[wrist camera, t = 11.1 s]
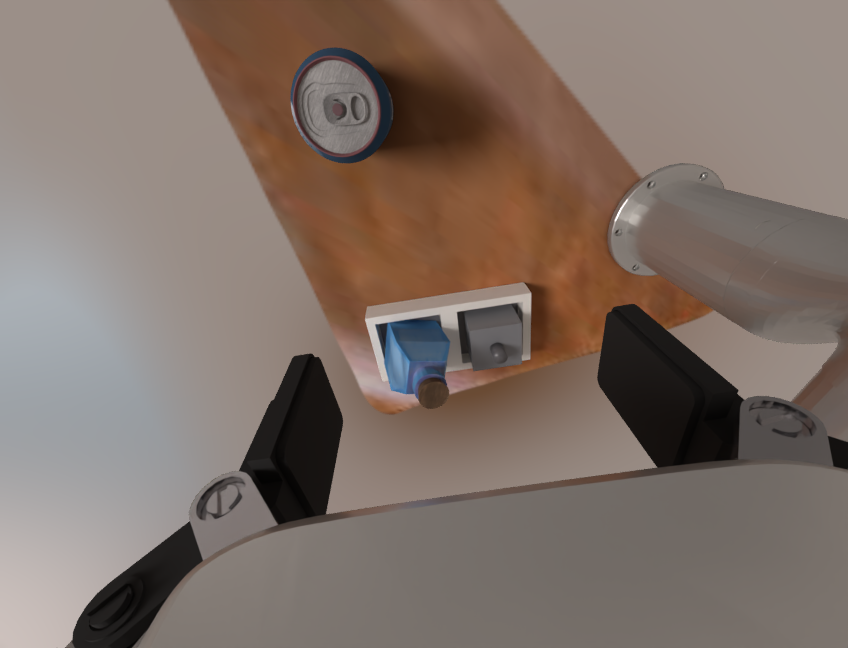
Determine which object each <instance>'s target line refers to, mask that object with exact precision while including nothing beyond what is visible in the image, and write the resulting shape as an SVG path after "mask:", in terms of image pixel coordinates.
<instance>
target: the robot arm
mask: <svg viewBox="0 0 848 648" xmlns="http://www.w3.org/2000/svg"><path fill="white" fill-rule="evenodd" d="M608 246H609V251H610V253H611V255H612V257H613V259H614V260H615V261H616V262H617V264H618V265H619V266H621V267H622V268H624V269H625V270H626V271H628V272H630V273H633V274H637V275H641V276H653V275H660V276H662V277H664V278H665V279H667V280H668V281H670V282H671V283H673V284H674V285H676V286H678V287H679V288H681V289H682V290H684V291H685V292H687V293H688V294H690V295H692V296H693V297H695V298H696V299H698V300H699V301H701V302H703V303H704V304H706V305H707V306H709V307H710V308H712V309H713V310H715V311H717V312H718V313H720V314H721V315H723V316H724V317H726V318H727V319H729V320H731V321H732V322H734V323H736V324H737V325H739V326H740V327H742V328H744V329H745V330H747V331H749V332H750V333H753V334H754V335H757V336H759V337H762V338H765V339H768V340H772V341H776V342H783V343H793V344H818V343H820V344H821V343H834V342H838V346H837V348H836V350H835V351H834V352H833V354H832V355H831V356H830V357H829V358H828V360H827V361H826V362H825V363H824V364H823V366H822V368H821V369H820V370H819V372H818V373H817V374H816V375H815V376H814V377H813V378H812V379H811V380H810V381H809V382H808V384H806V386H805V387H804V388H803V389H802V390H801V391H800V392H799V393H798V394H797V395H796V396H795V397H794V399H793V400H792V401H791V402H789V401H786V400H783V399H780V398H775V397H769V396H755V397H750V398H747V399H746V400H744V399H743V398H741V397H740V396H739V395H738V394H737V392H738V389H736V388H735V387H734V386H733V385H732V384H730V383H729V382H728V381H727V380H726V379H724V378H723V377H722V376H721V375H720V374H718V373H717V372H716V371H715V370H714V369H712V368H711V367H710V366H709V365H708V364H706V363H705V362H704V361H703V360H702V359H700V358H699V357H698V356H697V355H696V354H694V353H693V352H692V351H691V350H690V349H688V348H687V347H686V346H685V345H683V344H682V343H681V342H680V341H679V340H678V339H676V338H675V337H674V336H673V335H672V334H670V333H669V332H668V331H667V330H666V329H664V328H663V327H662V326H661V325H660V324H658V323H657V322H656V321H655V320H654V319H652V318H651V317H650V316H649V315H648V314H646V313H645V312H644V311H643V310H642V309H640V308H639V307H638V306H637V305H635V304H629V305H623V306H616V307H614V308H613V309H612V311H611V312H609V313H608V314H607V316H606V322H605V329H604V336H603V342H602V349H601V356H600V363H599V369H598V377H597V378H598V383H599V385H600V388H601V389H602V390H603V392H604V393H605V395H606V396H607V398H608V399H609V400H610V402H611V403H612V405H613V406H614V407H615V409H616V410H617V412H618V413H619V414H620V416H621V417H622V419H623V420H624V421H625V423H626V424H627V425H628V427H629V428H630V430H631V431H632V433H633V434H634V435H635V437H636V438H637V440H638V441H639V442H640V444H641V445H642V447H643V448H644V449H645V451H646V452H647V454H648V455H649V456H650V458H651V459H652V461H653V462H654V463H655V465H656V466H657V468H652V469H644V470H636V471H630V472H622V473H614V474H606V475H599V476H591V477H584V478H576V479H569V480H561V481H554V482H547V483H539V484H532V485H525V486H518V487H510V488H503V489H496V490H489V491H482V492H474V493H467V494H460V495H453V496H446V497H440V498H432V499H425V500H419V501H411V502H405V503H397V504H390V505H383V506H377V507H371V508H364V509H358V510H351V511H345V512H339V513H333V514H326V510H327V505H328V499H329V494H330V489H331V484H332V479H333V473H334V468H335V463H336V458H337V453H338V447H339V442H340V437H341V431H342V426H343V418H342V414H341V411H340V408H339V406H338V403H337V401H336V398H335V396H334V393H333V390H332V388H331V386H330V383H329V380H328V377H327V375H326V372H325V370H324V367H323V364H322V362H321V360H320V358H319V357H314V355H313V354H305V355H299V356H294V357H293V358H292V361H291V363H290V365H289V367H288V369H287V372H286V374H285V376H284V378H283V381H282V383H281V385H280V387H279V390H278V392H277V394H276V396H275V399H274V400H272V401H271V403H270V404H269V406H268V408H267V410H266V413H265V415H264V417H263V419H262V422H261V424H260V426H259V428H258V430H257V432H256V435H255V437H254V439H253V441H252V444H251V446H250V448H249V450H248V452H247V454H246V457H245V459H244V461H243V463H242V465H241V468H240V470H239V471H232V472H229V473H226V474H223V475H221V476H219V477H217V478H215V479H213V480H212V481H211V482H210V483H208V484H207V485H206V486H205V487H204V488H203V489H202V490H201V491H200V492H199V493H198V494H197V496H196V497H195V499H194V500H193V502H192V504H191V507H190V510H189V519H190V521H189V522H188V523H187V524H186V525H185V526H183V527H182V528H181V529H179V530H178V531H176V532H175V533H174V534H173V535H171V536H170V537H169V538H167V539H166V540H165V541H164V542H162V543H161V544H160V545H158V546H157V547H156V548H154V549H153V550H152V551H150V552H149V553H148V554H147V555H145V556H144V557H143V558H142V559H140V560H139V561H137V562H136V563H135V564H133V565H132V566H131V567H130V568H129V569H127V570H126V571H124V572H123V573H122V574H120V575H119V576H118V577H116V578H115V579H114V580H113V581H111V582H110V583H109V584H108V585H107V586H106V587H104V588H103V589H102V590H101V591H100V592H99V593H97V595H96V596H95V597H94V598H93V599H92V600H91V602H90V603H89V604H88V605H87V606H86V608H85V609H84V611H83V613H82V614H81V616H80V617H79V619H78V621H77V624H76V626H75V629H74V631H73V640H72V641H71V642H70V643H69V644H68V645H67V646H66V647H65V648H848V219H845V218H841V217H837V216H831V215H827V214H823V213H819V212H815V211H811V210H807V209H803V208H799V207H795V206H791V205H786V204H782V203H778V202H774V201H770V200H766V199H762V198H758V197H754V196H749V195H746V194H741V193H738V192H733V191H729V190H725V189H724V186H723V183H722V182H721V180H720V179H719V177H718V176H717V175H716V174H715V173H714V172H713V171H712V170H710V169H708V168H705V167H703V166H700V165H695V164H683V163H680V164H674V165H669V166H666V167H663V168H660V169H658V170H656V171H654V172H652V173H650V174H649V175H647V176H645V177H644V178H643V179H641V180H640V181H639V182H637V183H636V184H635V185H634V186H633V187H632V188H631V189H630V190H629V191H628V192H627V193H626V194H625V196H624V197H623V198H622V200H621V201H620V202H619V204H618V206H617V208H616V209H615V211H614V213H613V216H612V218H611V221H610V224H609V229H608Z"/></svg>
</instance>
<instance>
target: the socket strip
mask: <svg viewBox="0 0 848 648" xmlns="http://www.w3.org/2000/svg"><path fill="white" fill-rule="evenodd" d="M504 304H512V306H513V308H514V310H515V312H516V313H517V315H518V317H519V319H520V321H521V322H522V361H523V360H530V344H531V292H530V290H529V289H528V287H527V286H526V285H525V283H524V282H522V283H516V284H510V285H503V286H497V287H490V288H484V289H478V290H471V291H465V292H459V293H452V294H446V295H439V296H433V297H427V298H420V299H414V300H407V301H401V302H395V303H388V304H382V305H376V306H369V307H367V311H366V316H365V320H366V324H367V328H368V331H369V335H370V338H371V342H372V346H373V349H374V353H375V356H376V360H377V364H378V367H379V371H380V374H381V378H382V382H383V381H389V380H388V376H387V372H386V369H385V365H384V359H385V348H386V336H387V325H388V322H395V321H401V320H432V321H436V322H437V323H438V324H439V326H440V327H441V329H442V330H443V332H444V333H445V335H446V336H447V337H448V339H449V340H450V348H449V354H448V360H447V366H446V372H450V371H456V370H463V369H470V368H472V364H471V360H470V357H469V353H468V349H467V342H466V332H465V322H464V312H463V311H466V310H472V309H479V308H485V307H492V306H498V305H504Z"/></svg>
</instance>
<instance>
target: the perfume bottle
mask: <svg viewBox="0 0 848 648" xmlns="http://www.w3.org/2000/svg"><path fill="white" fill-rule="evenodd" d="M449 348H450V340H449V339H448V337H447V336H446V335H445V333H444V332H443V330H442V329H441V327H440V326H439V324H438V323H437V322H436V321H432V320H401V321H395V322H388V325H387V336H386V348H385V359H384V365H385V369H386V372H387V376H388V380H389V384H390V387H391V390H392V391H396V392H400V393H403V394H415V396H416V398H417V399H418V400H419V402H420V404H421V405H422V406H423V407H425V408H428V409H434V408H438V407H440V406H442V405H443V404H444V403H445V402H446V401H447V399H448V397H449V389H448V387H447V383H446V380H445V372H446V366H447V360H448V354H449Z"/></svg>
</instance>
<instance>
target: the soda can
mask: <svg viewBox="0 0 848 648" xmlns="http://www.w3.org/2000/svg"><path fill="white" fill-rule="evenodd" d="M291 109H292V114H293V118H294V121H295V124H296V126H297V128H298V130H299V132H300V134H301V135H302V137H303V138H304V140H305V141H306V142H307V144H308V145H309V146H310V147H311V148H312V149H313V150H314V151H316V152H317V153H318V154H320V155H321V156H323V157H325V158H327V159H329V160H331V161H334V162H338V163H354V162H358V161H361V160H364V159H366V158H368V157H369V156H371V155H372V154H373V153H374V152H375V151H376V150H377V149H378V148H379V147H380V146H381V144H382V143H383V141H384V140H385V138H386V136H387V135H388V133H389V131H390V129H391V126H392V122H393V102H392V98H391V94H390V92H389V90H388V87H387V86H386V84H385V82H384V81H383V79H382V78H381V77H380V75H379V74H378V72H377V71H376V70H375V68H374V67H373V66H372V65H371V64H370V63H369V62H368V61H367V60H366V59H364V58H363V57H362V56H360V55H358V54H357V53H355V52H352V51H350V50H347V49H342V48H327V49H323V50H320V51H317V52H315V53H314V54H312V55H311V56H309V57H308V58H307V59H306V60H305V61H304V62H303V63H302V64H301V66H300V67H299V69H298V71H297V72H296V75H295V77H294V80H293V84H292V88H291Z"/></svg>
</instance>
